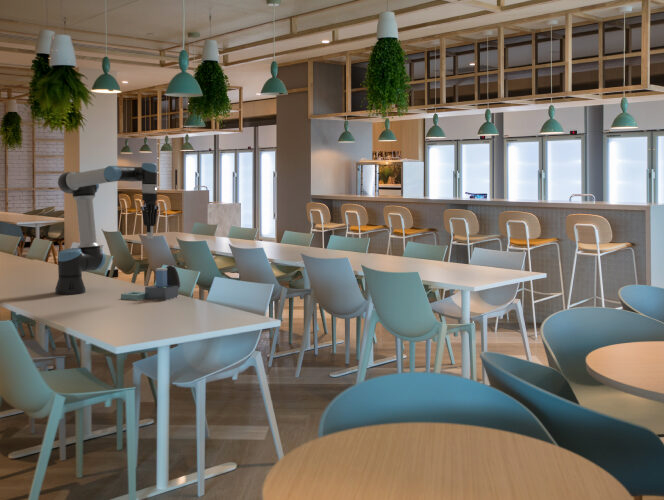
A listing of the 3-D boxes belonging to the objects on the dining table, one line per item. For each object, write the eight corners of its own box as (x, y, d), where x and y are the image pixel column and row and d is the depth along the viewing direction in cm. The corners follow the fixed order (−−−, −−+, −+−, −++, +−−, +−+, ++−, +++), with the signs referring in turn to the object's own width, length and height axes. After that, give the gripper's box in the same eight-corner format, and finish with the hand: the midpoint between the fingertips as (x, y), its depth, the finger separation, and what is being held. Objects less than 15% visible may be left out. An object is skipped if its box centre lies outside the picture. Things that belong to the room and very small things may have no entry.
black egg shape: (183, 292, 377) (182, 264, 376) (176, 295, 367) (176, 266, 365) (164, 291, 378) (164, 264, 377) (158, 294, 368) (158, 266, 366)
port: (145, 298, 353) (144, 286, 353) (158, 295, 365) (158, 283, 364) (165, 300, 349) (165, 287, 349) (178, 296, 361) (178, 284, 360)
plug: (155, 296, 356) (155, 268, 354) (160, 295, 359) (160, 267, 358) (163, 296, 354) (162, 268, 353) (167, 295, 358) (167, 268, 357)
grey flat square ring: (120, 298, 352) (120, 294, 352) (132, 296, 361) (132, 291, 361) (137, 300, 349) (137, 295, 349) (149, 297, 358) (148, 292, 358)
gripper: (148, 193, 349) (149, 239, 351) (162, 193, 362) (163, 238, 364) (135, 192, 352) (136, 239, 354) (150, 192, 364) (151, 237, 366)
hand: (150, 238), depth 359 cm, fingers closed
